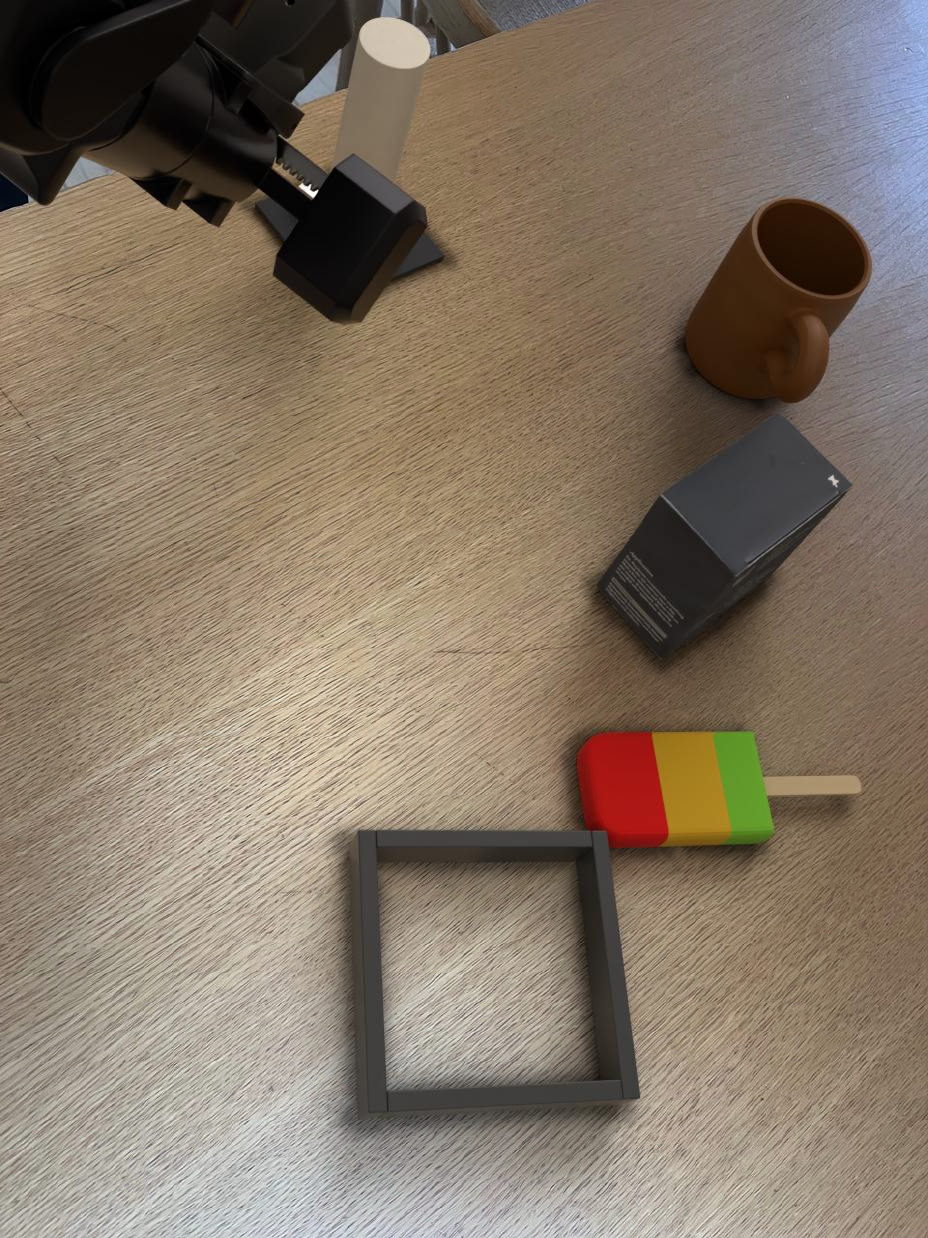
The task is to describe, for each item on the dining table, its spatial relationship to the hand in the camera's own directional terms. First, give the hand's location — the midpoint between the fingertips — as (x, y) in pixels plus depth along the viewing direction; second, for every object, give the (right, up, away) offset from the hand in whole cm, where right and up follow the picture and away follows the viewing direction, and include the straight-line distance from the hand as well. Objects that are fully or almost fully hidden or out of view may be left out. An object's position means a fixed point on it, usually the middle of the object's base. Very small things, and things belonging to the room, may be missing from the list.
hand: (294, 182), depth 63 cm
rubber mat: (+2, +1, +10) cm, 11 cm away
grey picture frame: (+9, -38, -7) cm, 39 cm away
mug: (+25, -8, +13) cm, 29 cm away
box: (+20, -20, +5) cm, 29 cm away
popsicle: (+21, -31, 0) cm, 37 cm away
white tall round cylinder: (+2, +1, +10) cm, 10 cm away
